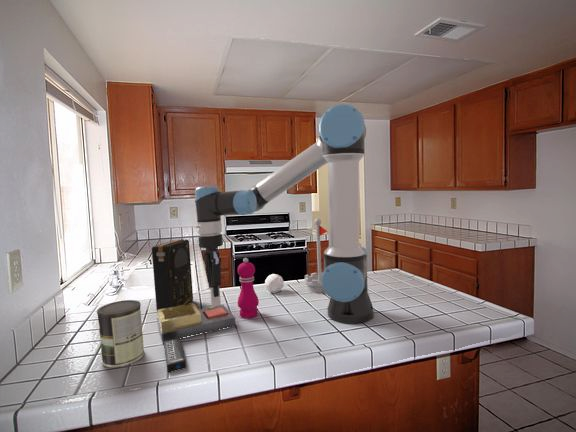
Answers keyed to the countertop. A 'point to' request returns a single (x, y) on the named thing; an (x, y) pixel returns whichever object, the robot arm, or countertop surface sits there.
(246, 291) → the pepper mill
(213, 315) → the button
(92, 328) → the countertop surface
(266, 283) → the ball
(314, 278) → the flag stand
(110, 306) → the coffee can
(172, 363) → the multiport hub
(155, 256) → the voltmeter
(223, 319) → the grey board with box
